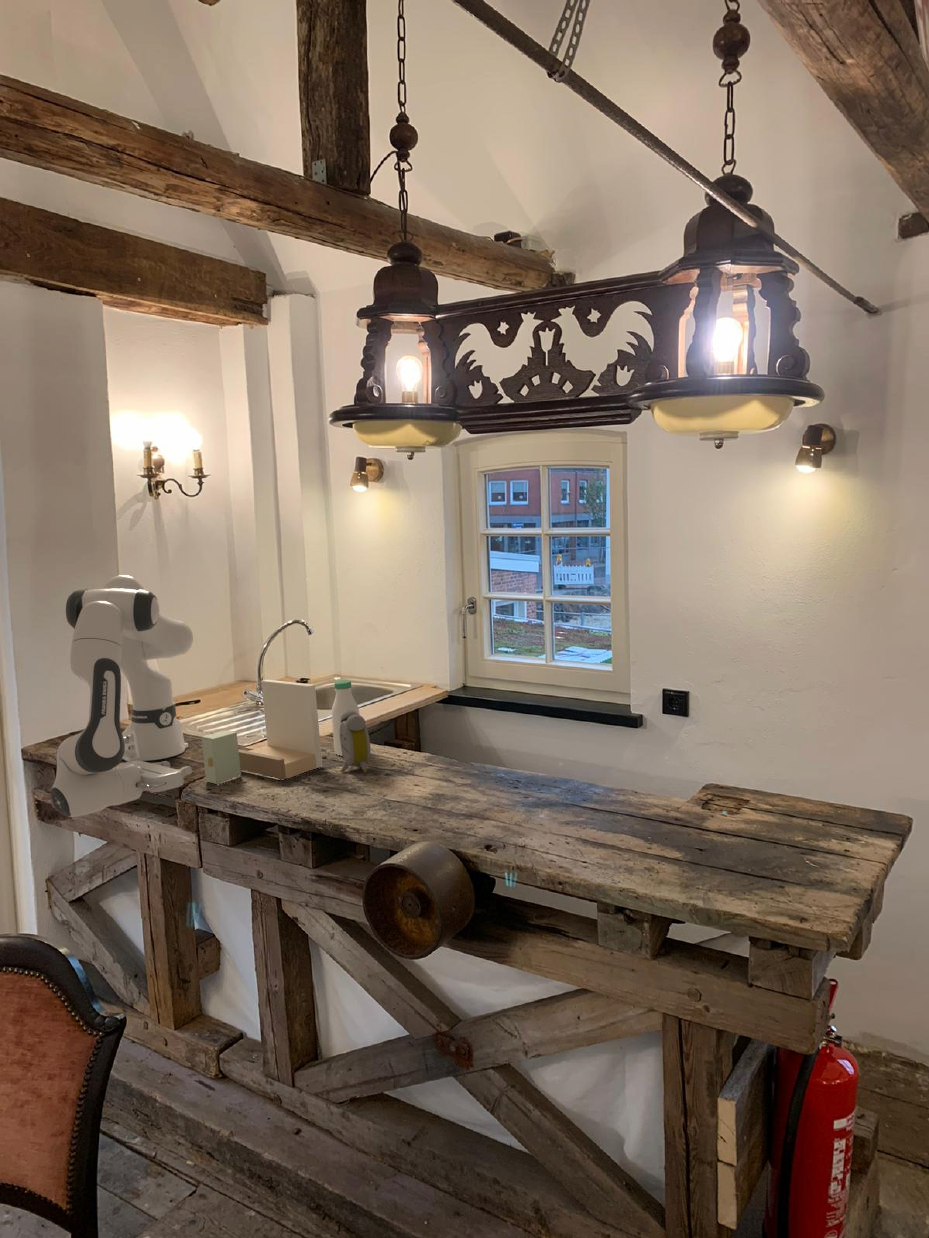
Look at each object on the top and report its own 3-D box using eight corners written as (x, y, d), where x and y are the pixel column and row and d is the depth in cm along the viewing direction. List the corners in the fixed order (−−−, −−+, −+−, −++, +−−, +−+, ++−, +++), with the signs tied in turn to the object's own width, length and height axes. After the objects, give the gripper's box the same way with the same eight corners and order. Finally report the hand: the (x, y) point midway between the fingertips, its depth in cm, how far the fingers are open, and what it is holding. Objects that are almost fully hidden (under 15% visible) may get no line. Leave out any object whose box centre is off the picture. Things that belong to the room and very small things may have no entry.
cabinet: (202, 783, 220) (197, 737, 218) (229, 775, 226) (225, 730, 224) (214, 786, 217) (209, 739, 215) (241, 777, 223) (236, 732, 221)
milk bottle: (360, 755, 236) (354, 683, 233) (332, 757, 236) (326, 685, 233) (364, 748, 243) (358, 678, 241) (337, 749, 243) (331, 680, 241)
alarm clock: (373, 773, 218) (368, 715, 216) (346, 778, 216) (341, 719, 214) (361, 762, 229) (356, 707, 227) (335, 767, 226) (331, 710, 225)
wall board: (233, 770, 230) (225, 689, 227) (274, 757, 240) (267, 679, 237) (281, 781, 217) (272, 695, 214) (322, 767, 227) (314, 684, 224)
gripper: (148, 775, 194) (202, 759, 205) (103, 763, 207) (155, 749, 218) (151, 802, 195) (204, 785, 205) (106, 789, 208) (158, 773, 218)
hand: (179, 766), depth 212 cm, fingers open, 8 cm apart
